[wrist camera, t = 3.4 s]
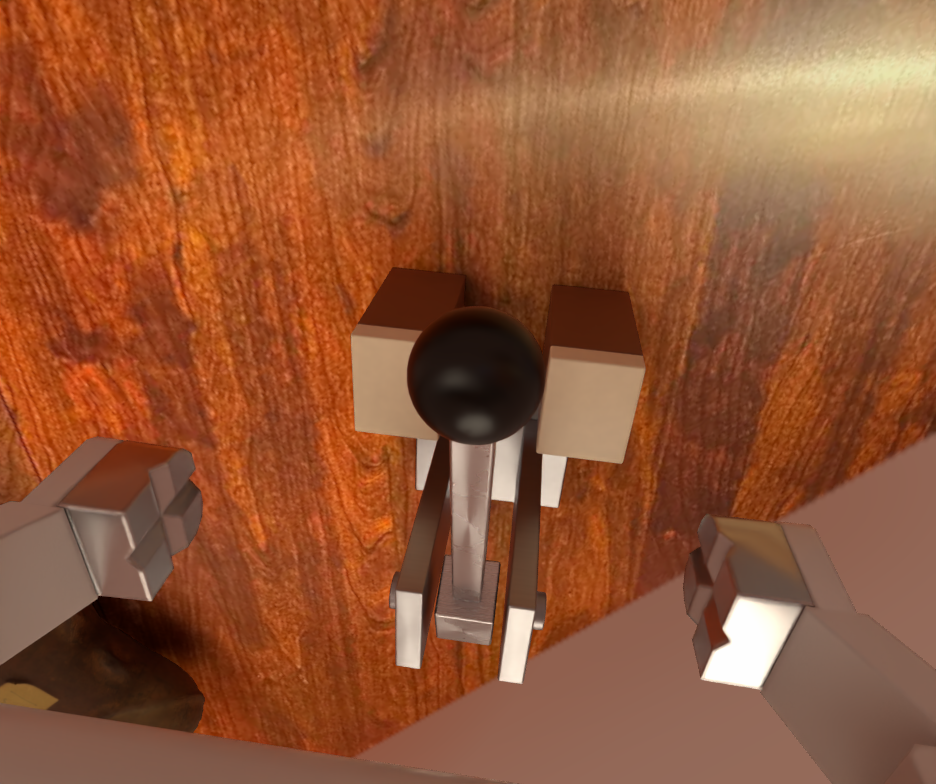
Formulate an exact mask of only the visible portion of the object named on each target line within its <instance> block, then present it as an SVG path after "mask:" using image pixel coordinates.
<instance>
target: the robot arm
mask: <svg viewBox="0 0 936 784" xmlns="http://www.w3.org/2000/svg"><path fill="white" fill-rule="evenodd" d="M194 471H195V465H194V462H193V458H192V454H191V453H190V452H189V451H187V450H185V449H182V448H175V447H168V446H162V445H155V444H148V443H142V442H135V441H128V440H126V441H123V440H117V439H111V438H104V437H94V438H91V439H87V440H86V441H85V442H84V443H83V444H82V445H81V446H80V447H78V448H77V449H76V450H75V451H74V452H73V453H72V454H71V455H70V456H69V457H68V458H67V459H66V460H65V461H64V462H63V463H61V464H60V465H59V466H58V467H57V468H56V469H55V470H54V471H53V472H52V473H51V474H50V475H49V476H48V477H47V478H45V479H44V480H43V481H42V482H41V483H40V484H39V485H38V486H37V487H36V488H35V489H34V490H33V491H32V492H31V493H30V494H28V495H27V496H26V497H25V498H24V499H23V500H22V501H21V502H15V501H9V502H7V503H5V504H2V505H0V665H1V664H3V663H4V662H6V661H7V660H9V659H10V658H12V657H13V656H15V655H16V654H17V653H19V652H20V651H22V650H23V649H25V648H26V647H28V646H29V645H31V644H32V643H34V642H35V641H36V640H38V639H39V638H41V637H42V636H44V635H45V634H47V633H48V632H50V631H51V630H53V629H54V628H55V627H57V626H58V625H60V624H61V623H63V622H64V621H66V620H67V619H69V618H70V617H72V616H73V615H74V614H76V613H77V612H79V611H80V610H82V609H83V608H85V607H86V606H88V605H89V604H91V603H92V602H94V601H95V600H96V599H98V596H107V597H116V598H125V599H134V600H143V601H152V600H153V599H154V597H155V596H156V594H157V593H158V591H159V590H160V588H161V587H162V585H163V584H164V582H165V581H166V579H167V578H168V576H169V575H170V573H171V572H172V570H173V569H174V566H173V561H172V556H173V555H175V554H176V553H178V552H180V551H182V550H183V549H185V548H187V547H188V546H189V545H190V543H191V541H192V540H193V538H194V537H195V535H196V534H197V531H198V528H199V525H200V521H201V518H202V509H203V501H202V496H201V491H200V489H199V488H198V487H197V486H196V485H195V484H194V483H193V482H192V481H191V480H190V479H189V477H190V476H191V475H192V473H193V472H194ZM697 534H698V538H699V542H700V547H699V548H697V549H696V550H694V551H693V552H691V553H690V554H689V558H688V561H687V564H686V567H685V574H684V583H683V591H684V601H685V607H686V612H687V615H688V616H689V617H690V618H691V619H692V620H693V621H694V622H695V623H696V624H697V629H696V631H695V634H694V636H693V639H692V641H693V646H694V650H695V655H696V659H697V664H698V669H699V673H700V678H701V680H708V681H713V682H719V683H725V684H731V685H737V686H743V687H749V688H755V689H760V690H761V692H760V693H761V694H762V695H763V697H764V698H765V699H766V700H767V702H768V703H769V704H770V706H771V707H772V708H773V709H774V711H775V712H776V713H777V714H778V716H779V717H780V718H781V720H782V721H783V722H784V723H785V725H786V726H787V727H788V728H789V730H790V731H791V732H792V733H793V735H794V736H795V737H796V739H797V740H798V741H799V742H800V744H801V745H802V746H803V748H804V749H805V750H806V751H807V753H808V754H809V755H810V756H811V758H812V759H813V760H814V761H815V763H816V764H817V765H818V767H819V768H820V769H821V770H822V772H823V773H824V774H825V775H826V777H827V778H828V779H829V780H830V782H831V783H832V784H936V669H934V668H933V667H932V666H931V665H929V664H928V663H927V662H926V661H924V660H923V659H922V658H921V657H919V656H918V655H917V654H916V653H914V652H913V651H912V650H911V649H910V648H908V647H907V646H906V645H905V644H903V643H902V642H901V641H900V640H899V639H897V638H896V637H895V636H894V635H892V634H891V633H890V632H889V631H887V630H886V629H885V628H884V627H883V626H881V625H880V624H879V623H878V622H876V621H875V620H874V619H873V618H871V617H870V616H869V615H865V614H858V613H857V612H856V610H855V608H854V606H853V604H852V602H851V600H850V598H849V596H848V594H847V592H846V590H845V587H844V585H843V583H842V581H841V579H840V577H839V575H838V573H837V571H836V569H835V567H834V565H833V563H832V561H831V559H830V557H829V555H828V553H827V551H826V549H825V547H824V545H823V543H822V541H821V539H820V537H819V535H818V533H817V531H816V530H815V529H814V528H813V527H812V526H810V525H805V524H796V523H787V522H777V521H775V522H771V521H763V520H755V519H746V518H738V517H729V516H721V515H712V514H706V516H705V517H704V518H703V519H702V521H701V524H700V526H699V529H698V532H697ZM97 595H98V596H97ZM0 784H518V783H511V782H505V781H498V780H492V779H486V778H479V777H472V776H466V775H459V774H453V773H447V772H440V771H433V770H427V769H420V768H415V767H408V766H401V765H395V764H389V763H382V762H376V761H370V760H363V759H357V758H350V757H344V756H337V755H331V754H325V753H318V752H312V751H305V750H299V749H292V748H286V747H280V746H273V745H267V744H260V743H254V742H247V741H241V740H235V739H228V738H222V737H215V736H209V735H203V734H196V733H190V732H183V731H177V730H170V729H164V728H158V727H151V726H145V725H138V724H132V723H126V722H119V721H113V720H106V719H100V718H93V717H87V716H81V715H74V714H68V713H61V712H55V711H49V710H42V709H36V708H29V707H23V706H17V705H10V704H4V703H0Z"/></svg>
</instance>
